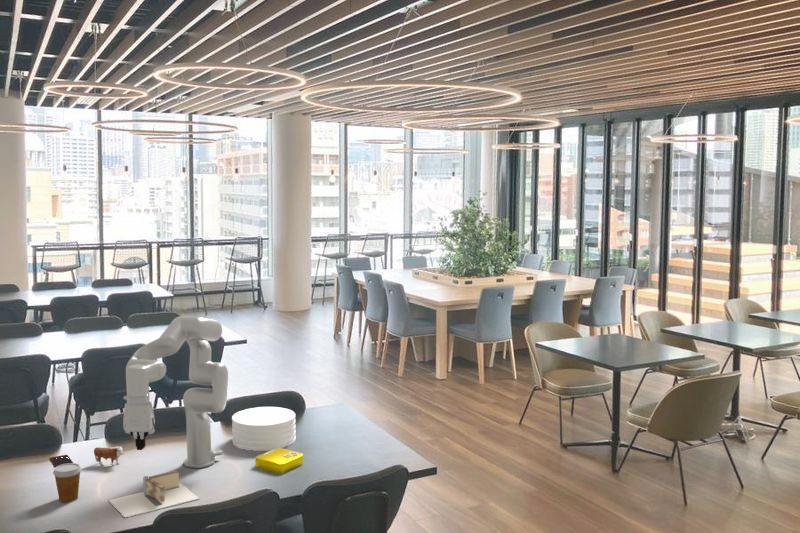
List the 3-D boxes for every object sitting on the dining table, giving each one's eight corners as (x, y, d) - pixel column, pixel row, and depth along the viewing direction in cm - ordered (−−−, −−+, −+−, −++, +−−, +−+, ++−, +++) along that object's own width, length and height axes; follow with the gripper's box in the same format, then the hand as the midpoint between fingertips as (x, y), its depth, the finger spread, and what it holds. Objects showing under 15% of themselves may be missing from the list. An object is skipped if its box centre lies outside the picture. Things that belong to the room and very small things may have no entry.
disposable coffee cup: (59, 494, 293) (58, 463, 292) (86, 493, 294) (84, 462, 293) (50, 504, 284) (49, 472, 283) (77, 503, 285) (76, 471, 283)
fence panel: (146, 493, 291) (145, 479, 291) (149, 492, 292) (149, 478, 292) (161, 502, 284) (161, 487, 283) (164, 501, 285) (164, 486, 284)
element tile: (278, 456, 334) (277, 445, 334) (305, 463, 326) (305, 452, 326) (253, 467, 322) (253, 456, 321) (280, 475, 314) (280, 463, 313)
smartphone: (67, 454, 334) (75, 464, 322) (67, 456, 334) (75, 466, 322) (49, 457, 330) (56, 468, 318) (49, 459, 331) (56, 470, 318)
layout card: (180, 484, 303) (179, 466, 302) (199, 499, 289) (198, 481, 288) (108, 501, 287) (107, 483, 286) (124, 518, 273) (124, 499, 272)
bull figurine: (122, 468, 320) (121, 448, 319) (92, 465, 323) (91, 446, 322) (128, 464, 324) (127, 445, 323) (98, 461, 327) (97, 442, 326)
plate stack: (264, 426, 374) (264, 403, 373) (308, 438, 358) (308, 413, 356) (219, 442, 351) (218, 417, 350) (264, 455, 335) (263, 429, 334)
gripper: (113, 402, 279) (116, 452, 281) (154, 403, 277) (156, 453, 280) (122, 395, 286) (125, 444, 289) (162, 396, 285) (164, 445, 287)
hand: (140, 448), depth 284 cm, fingers closed
